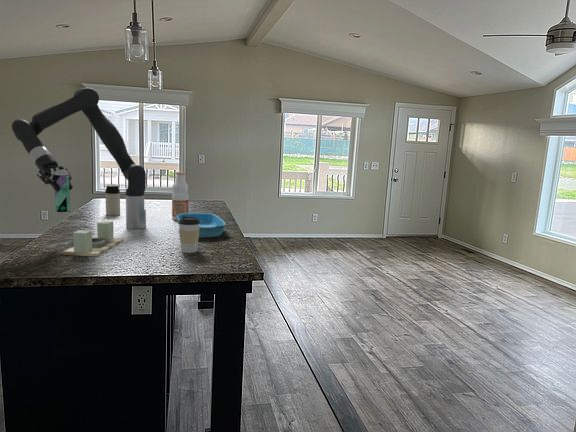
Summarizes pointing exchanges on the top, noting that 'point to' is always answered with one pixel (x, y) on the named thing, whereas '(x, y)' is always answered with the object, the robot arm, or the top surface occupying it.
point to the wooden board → (94, 249)
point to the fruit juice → (179, 196)
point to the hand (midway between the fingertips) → (65, 189)
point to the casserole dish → (207, 224)
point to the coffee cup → (189, 234)
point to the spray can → (62, 191)
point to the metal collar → (99, 242)
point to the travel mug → (112, 199)
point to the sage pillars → (85, 237)
